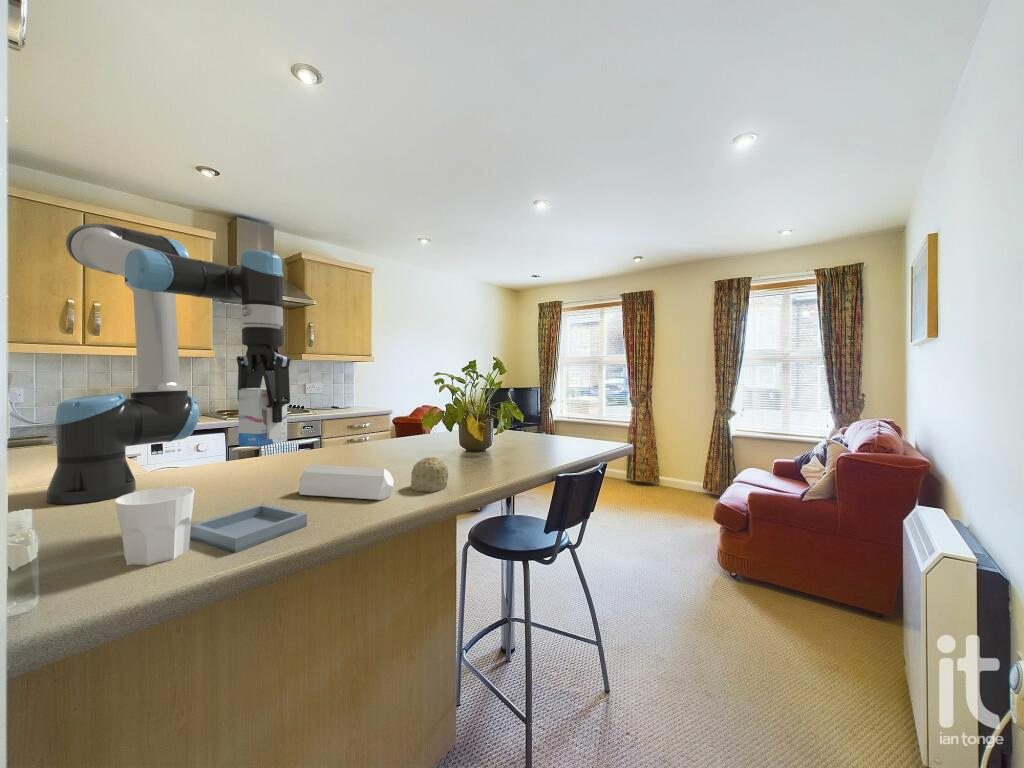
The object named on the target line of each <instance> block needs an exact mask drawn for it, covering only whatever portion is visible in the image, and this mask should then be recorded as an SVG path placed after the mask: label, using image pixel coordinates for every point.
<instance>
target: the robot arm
mask: <svg viewBox="0 0 1024 768" xmlns="http://www.w3.org/2000/svg"><path fill="white" fill-rule="evenodd" d="M65 247H66V248H65V249H66V251H67V252H68V254H69V256H70V257H71V258H72V259H73V260H74V261H75V262H77V263H78V264H80V265H82V266H84V267H85V268H88V269H90V270H94V271H99V272H103V273H105V274H106V273H108V274H113V275H118V276H121V277H124V285H125V287H127V288H129V290H131V291H132V295H133V310H134V313H133V314H134V315H133V316H134V328H135V329H134V331H135V332H134V333H135V334H134V335H135V349H136V373H137V385H136V387H134V388H133V389H131V390H130V398H126V396H125V395H124V394H122V393H109V394H106V393H105V394H96V395H87V396H81V397H75V398H70V399H66V400H64V401H61V402H60V403H58V405H57V407H56V413H55V421H54V424H55V430H56V433H55V434H56V435H55V436H56V458H57V459H56V463H57V464H56V468H55V471H54V473H53V475H52V477H51V480H50V483H49V485H48V487H47V489H46V502H47V503H49V504H53V505H71V504H75V505H76V504H82V503H83V504H84V503H91V502H98V501H99V502H101V501H105V500H110V499H115V498H119V497H121V496H123V495H126V494H129V493H133V492H135V491H136V489H137V487H136V482H137V481H136V479H135V477H134V474H133V472H132V470H131V467H130V465H129V464H128V461H127V458H126V450H127V449H126V448H127V447H130V446H132V447H133V446H140V445H147V444H148V445H149V444H150V445H151V444H156V443H167V442H168V443H171V442H173V441H178V440H184V439H186V438H188V437H191V435H192V434H193V432H194V431H195V430H196V427H197V425H198V422H199V417H200V409H199V405H198V401H197V400H196V398H195V397H193V396H191V395H189V394H188V388H186V387H184V385H182V384H181V379H180V378H181V377H180V374H181V373H180V361H179V359H180V358H179V356H180V355H179V340H178V339H179V337H178V336H179V335H178V318H177V303H176V295H184V296H192V297H196V298H203V299H210V300H211V299H212V300H215V301H216V302H219V303H228V304H236V303H240V302H241V323H242V325H243V326H244V327H242V328H241V344H242V345H243V346H246V347H247V350H246V353H245V355H243V356H242V355H241V356H239V355H238V356H237V357H236V362H237V363H236V364H237V369H238V370H237V371H238V372H237V401H238V403H239V390H241V389H244V388H262V387H261V386H262V381H263V379H264V384H265V388H266V390H267V395H268V399H269V405H267V407H268V408H267V439H274V438H281V422H282V407H283V406H284V405H285V404H287V405H290V403H291V394H290V393H291V392H290V390H291V389H290V369H289V368H290V364H291V363H290V362H291V357H290V356H284V355H282V354H281V353H280V349H279V348H280V347H282V346H283V345H284V331H283V329H282V327H284V308H283V304H284V303H283V302H284V301H283V300H284V298H283V297H284V295H283V294H284V291H283V289H284V272H283V263H282V262H283V260H282V257H280V255H278V254H276V253H273V252H270V251H265V250H257V249H248V250H247V249H246V250H245V251H243V252H242V253H241V255H240V261H239V263H240V264H239V265H228V264H221V263H217V262H212V261H205V260H201V259H196V258H191V256H190V253H189V251H188V249H186V247H185V246H184V245H183V244H182V243H181V242H180V241H178V240H175V239H172V238H171V237H170V238H169V237H165V236H164V235H159V234H158V235H157V234H154V233H148V232H143V231H139V230H135V229H131V228H126V227H122V226H117V225H114V224H108V223H85V224H81V225H78V226H76V227H74V228H72V229H71V230H70V231H69V232H68V234H67V236H66V239H65ZM275 399H276V401H275Z"/></svg>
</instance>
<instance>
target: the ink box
mask: <svg viewBox="0 0 1024 768" xmlns="http://www.w3.org/2000/svg"><path fill="white" fill-rule="evenodd" d="M275 401H276V399H275ZM267 405H269V399H268V395H267V390H266V387H260V388H244V389H241V390H239V402H238V447H247V448H248V447H250V448H251V447H253V448H260V447H265V446H269V445H273V444H275V445H276V444H278V443H283V442H287V441H288V404H285V405H284V406H283V407H282V422H281V438H274V439H267V408H268V407H267Z"/></svg>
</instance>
